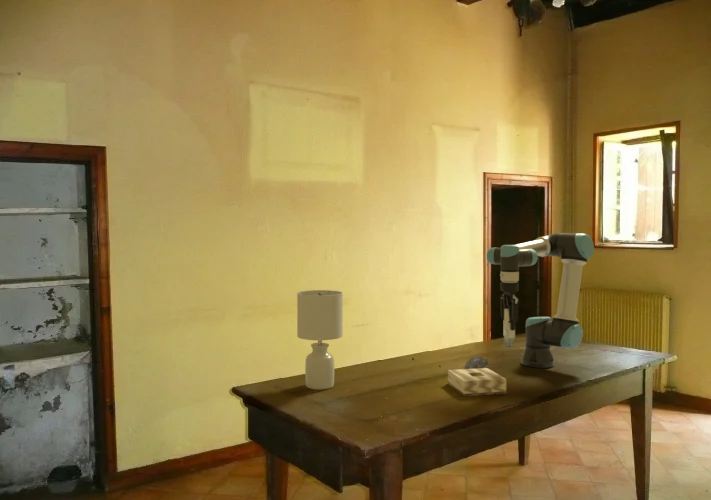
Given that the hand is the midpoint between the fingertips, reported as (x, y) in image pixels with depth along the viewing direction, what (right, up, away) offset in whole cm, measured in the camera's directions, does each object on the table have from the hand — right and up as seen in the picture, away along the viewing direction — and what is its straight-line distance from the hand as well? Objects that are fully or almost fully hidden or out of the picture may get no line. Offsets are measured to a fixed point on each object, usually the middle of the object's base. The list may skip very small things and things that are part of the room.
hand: (509, 336), depth 243 cm
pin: (0, -4, 0) cm, 4 cm away
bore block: (-15, -21, -6) cm, 26 cm away
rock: (-10, -20, +16) cm, 28 cm away
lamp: (-80, -20, -3) cm, 83 cm away
